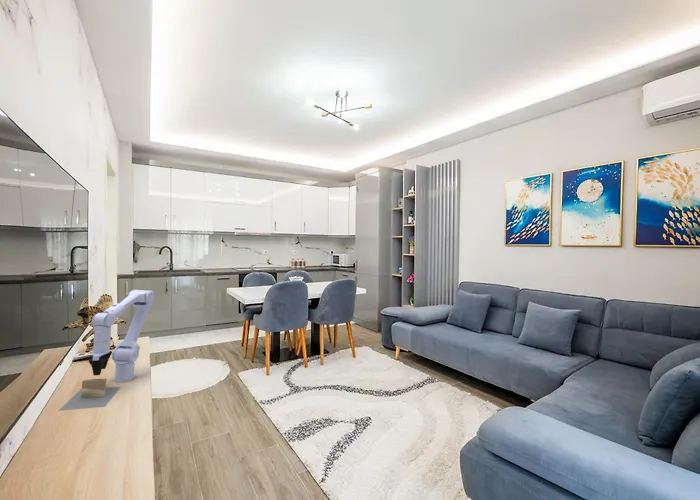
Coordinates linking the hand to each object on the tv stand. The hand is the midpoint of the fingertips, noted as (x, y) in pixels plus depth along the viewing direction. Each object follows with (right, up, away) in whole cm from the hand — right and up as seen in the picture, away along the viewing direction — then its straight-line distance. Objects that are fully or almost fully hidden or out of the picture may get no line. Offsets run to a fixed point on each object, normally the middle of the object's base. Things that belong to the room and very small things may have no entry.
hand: (99, 371), depth 142 cm
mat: (+1, -9, -5) cm, 11 cm away
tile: (+1, -9, -4) cm, 10 cm away
